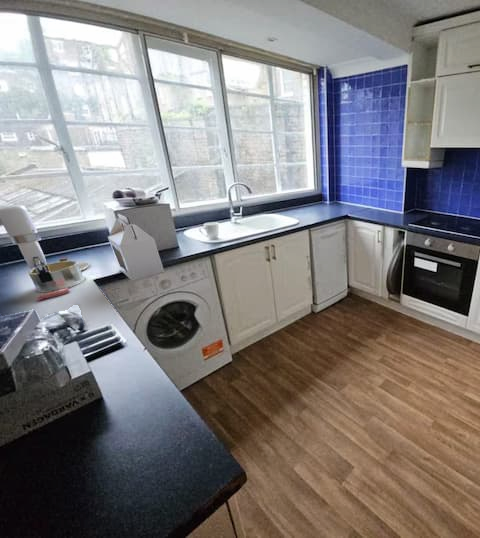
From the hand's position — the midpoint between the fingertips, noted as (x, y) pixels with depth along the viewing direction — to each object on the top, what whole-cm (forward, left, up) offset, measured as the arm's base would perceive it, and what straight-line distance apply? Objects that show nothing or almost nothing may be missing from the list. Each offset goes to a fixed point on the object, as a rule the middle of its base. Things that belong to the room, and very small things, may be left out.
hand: (46, 278), depth 119 cm
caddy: (-8, +13, -8) cm, 18 cm away
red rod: (0, 0, -8) cm, 8 cm away
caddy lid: (-19, +30, -8) cm, 37 cm away
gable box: (+21, +24, -9) cm, 33 cm away
